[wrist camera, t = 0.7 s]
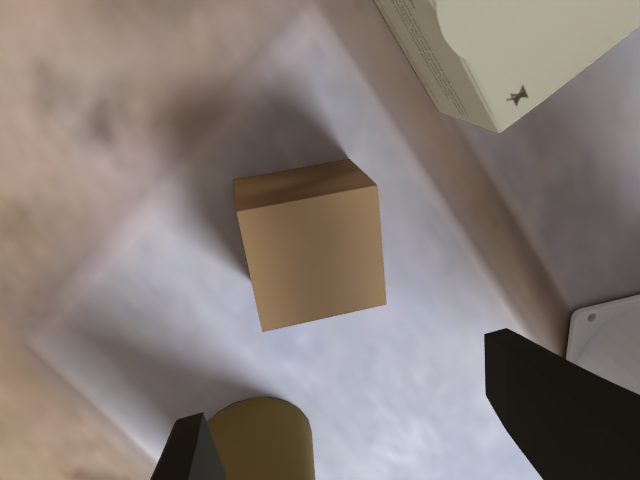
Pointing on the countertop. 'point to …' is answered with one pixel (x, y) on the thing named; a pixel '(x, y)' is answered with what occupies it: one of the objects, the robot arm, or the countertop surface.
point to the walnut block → (311, 242)
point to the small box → (503, 49)
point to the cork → (263, 441)
